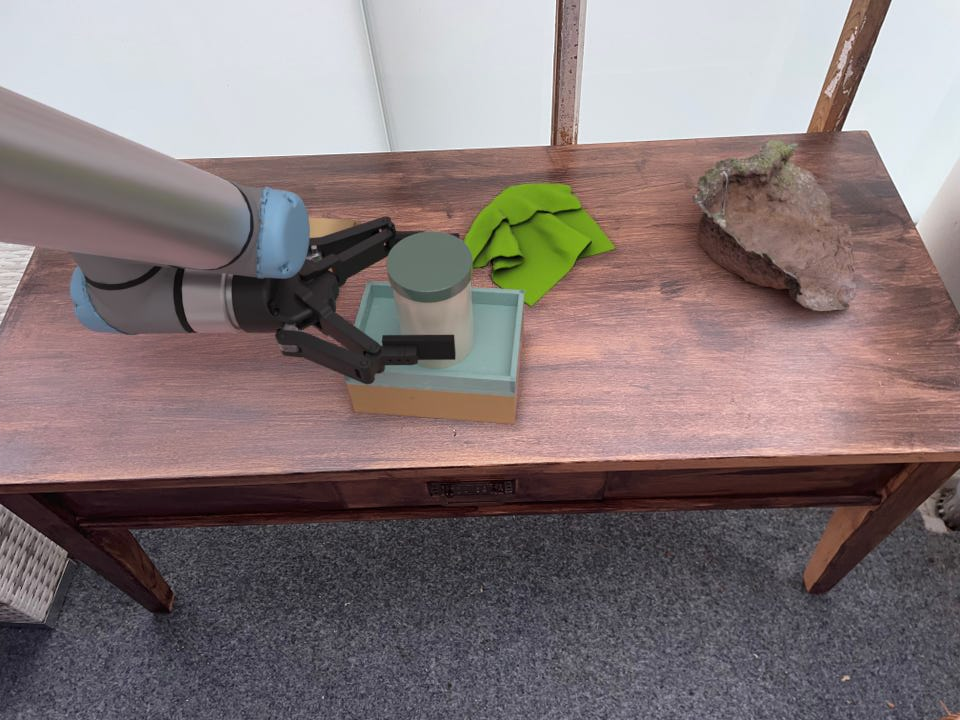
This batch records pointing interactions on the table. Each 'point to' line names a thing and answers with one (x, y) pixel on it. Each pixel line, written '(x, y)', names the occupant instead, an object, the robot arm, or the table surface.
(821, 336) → the table surface
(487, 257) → the cloth
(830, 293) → the rock
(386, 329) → the teal and tan box
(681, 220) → the table surface
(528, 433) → the table surface
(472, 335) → the jar
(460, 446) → the table surface
